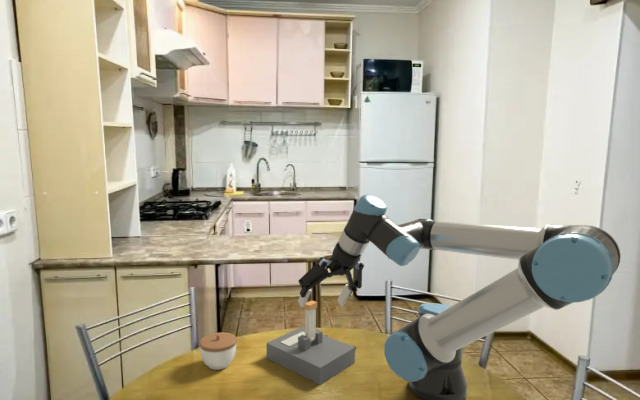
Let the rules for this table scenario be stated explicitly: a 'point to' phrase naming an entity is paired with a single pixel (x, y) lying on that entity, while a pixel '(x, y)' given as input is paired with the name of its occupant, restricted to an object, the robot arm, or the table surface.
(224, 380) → the table surface
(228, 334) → the lidded jar
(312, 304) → the breaker lever
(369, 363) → the table surface
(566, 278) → the robot arm
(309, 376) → the breaker box
